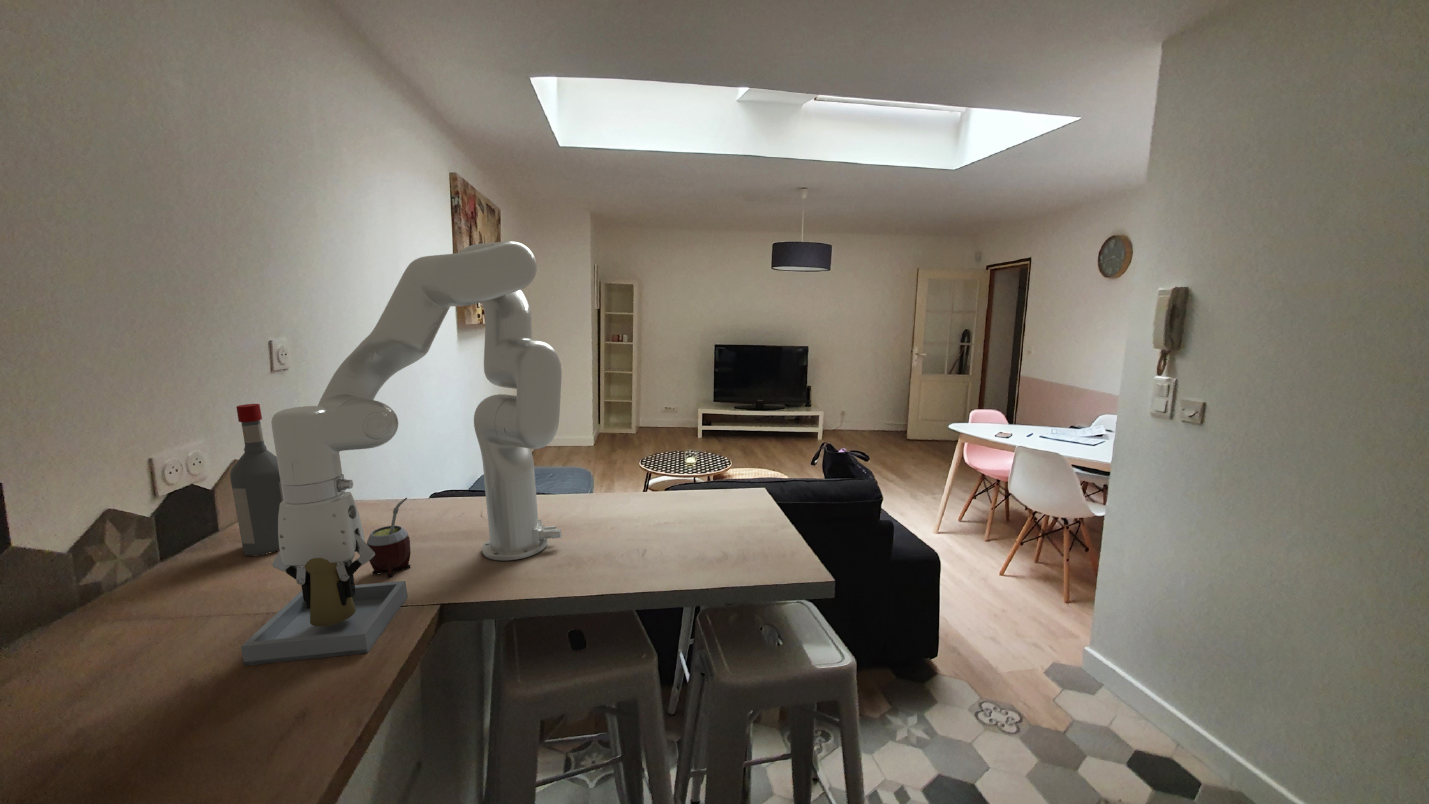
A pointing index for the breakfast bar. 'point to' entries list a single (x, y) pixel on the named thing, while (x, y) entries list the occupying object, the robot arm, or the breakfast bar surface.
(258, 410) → the liquor
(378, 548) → the mate gourd
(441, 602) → the breakfast bar surface
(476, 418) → the robot arm
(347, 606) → the cork
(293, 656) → the tray
